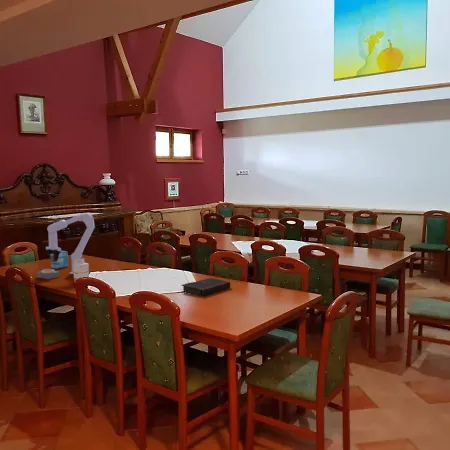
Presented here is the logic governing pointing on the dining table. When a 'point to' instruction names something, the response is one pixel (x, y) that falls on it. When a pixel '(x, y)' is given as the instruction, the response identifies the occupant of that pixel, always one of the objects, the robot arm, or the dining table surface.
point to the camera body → (48, 274)
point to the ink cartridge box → (80, 269)
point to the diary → (205, 286)
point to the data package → (61, 260)
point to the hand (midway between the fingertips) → (54, 260)
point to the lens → (53, 259)
